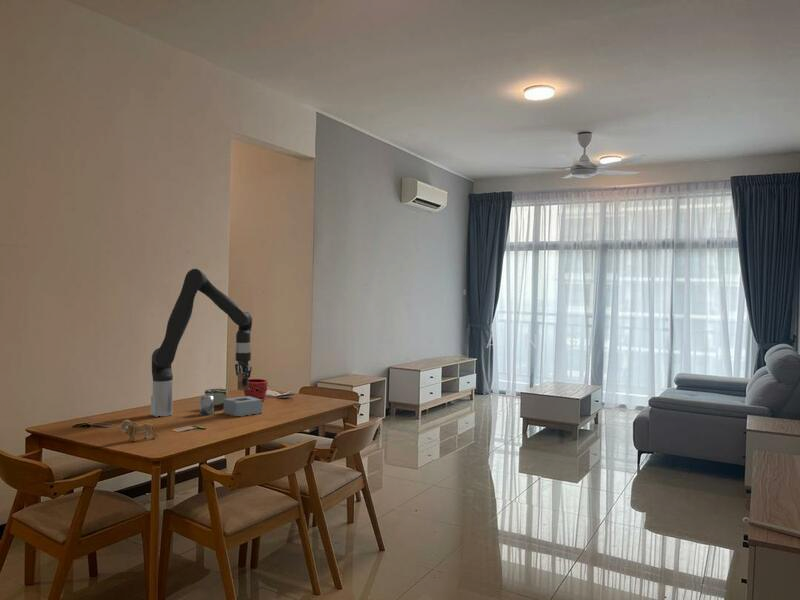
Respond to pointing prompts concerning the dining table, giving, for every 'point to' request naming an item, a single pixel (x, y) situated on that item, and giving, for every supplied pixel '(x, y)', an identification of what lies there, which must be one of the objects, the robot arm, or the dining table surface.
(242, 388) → the square peg
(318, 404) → the dining table surface
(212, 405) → the round peg
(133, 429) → the lion figurine
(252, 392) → the plant pot
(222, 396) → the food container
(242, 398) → the socket block
